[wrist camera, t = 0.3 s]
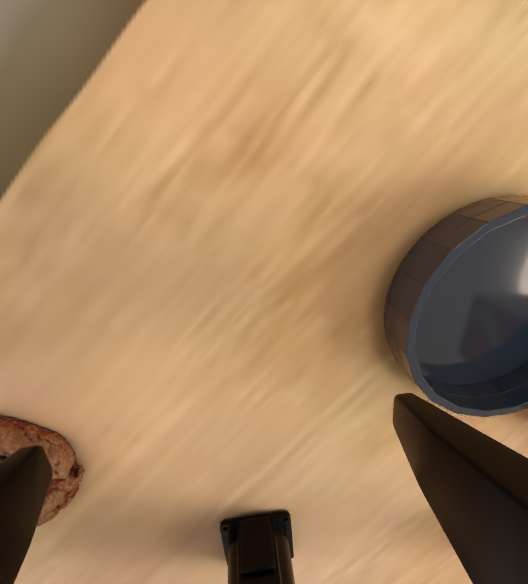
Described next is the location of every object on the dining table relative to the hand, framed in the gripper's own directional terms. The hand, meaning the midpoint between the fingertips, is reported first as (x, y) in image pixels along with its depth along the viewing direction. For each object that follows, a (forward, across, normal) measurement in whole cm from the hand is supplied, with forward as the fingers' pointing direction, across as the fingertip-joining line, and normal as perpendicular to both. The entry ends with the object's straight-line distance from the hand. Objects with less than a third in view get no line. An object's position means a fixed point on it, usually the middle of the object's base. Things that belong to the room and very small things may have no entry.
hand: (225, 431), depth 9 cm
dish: (+14, -18, +5) cm, 24 cm away
